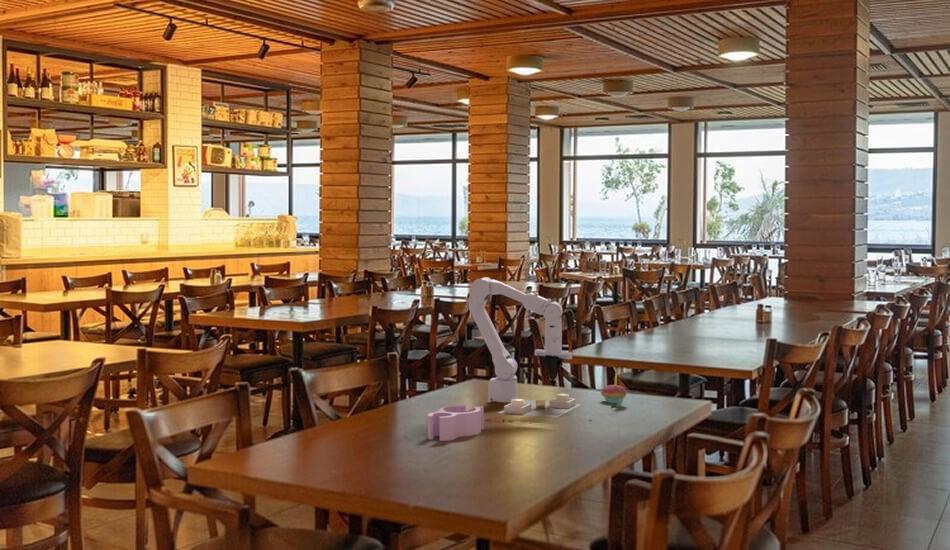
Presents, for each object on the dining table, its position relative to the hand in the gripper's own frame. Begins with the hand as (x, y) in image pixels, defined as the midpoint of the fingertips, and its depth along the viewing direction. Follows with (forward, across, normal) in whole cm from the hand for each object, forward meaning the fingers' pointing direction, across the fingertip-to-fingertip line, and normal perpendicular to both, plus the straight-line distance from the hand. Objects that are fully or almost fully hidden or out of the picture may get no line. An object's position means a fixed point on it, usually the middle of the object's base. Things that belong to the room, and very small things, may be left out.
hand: (553, 378), depth 333 cm
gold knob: (+8, +4, -12) cm, 15 cm away
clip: (+10, +4, -52) cm, 53 cm away
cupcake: (+9, +15, +13) cm, 22 cm away
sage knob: (+8, +7, -4) cm, 11 cm away
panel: (+9, +4, -12) cm, 16 cm away
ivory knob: (+8, +1, -20) cm, 22 cm away
